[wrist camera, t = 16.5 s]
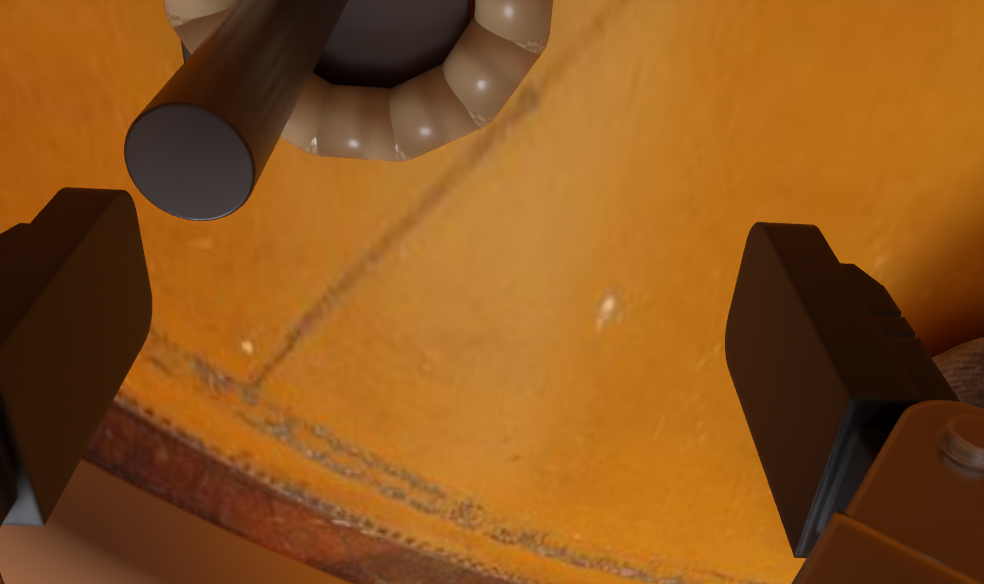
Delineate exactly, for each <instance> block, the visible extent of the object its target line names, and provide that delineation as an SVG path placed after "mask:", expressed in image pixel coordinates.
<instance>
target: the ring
mask: <svg viewBox="0 0 984 584" xmlns="http://www.w3.org/2000/svg"><path fill="white" fill-rule="evenodd" d="M238 1H239V0H164V5H165V12H166V15H167V18H168V20H169V22H170V24H171V26H172V27H173V29H174V30H175V32H176V33H177V35H178V36H179V38H180V39H181V41H182V42H183V44H184V45H185V46H186V48H187V49H188V51H189V52H190V54H191V55H192V53H193V52H194V51H195V50H196V49H197V48H198V47H199V45H200V44H201V43H202V42H203V41H204V40H205V39H206V37H207V36H208V35H209V34H210V33H211V32H212V30H213V29H214V28H215V27H216V26H217V25H218V24H219V22H220V21H221V20H222V19H223V18H224V17H225V15H226V14H227V13H228V12H229V11H230V10H231V9H232V7H233V6H234V5H235V4H236V3H237V2H238ZM552 6H553V0H475V16H474V17H473V19H472V20H471V22H470V23H469V25H468V26H467V28H466V29H465V31H464V32H463V34H462V35H461V37H460V38H459V40H458V41H457V43H456V44H455V46H454V47H453V49H452V50H451V52H450V53H449V55H448V56H447V58H446V59H445V61H444V62H443V64H441V65H439V66H437V67H435V68H433V69H431V70H428V71H426V72H424V73H422V74H420V75H418V76H416V77H414V78H412V79H410V80H408V81H406V82H403V83H401V84H399V85H397V86H395V87H393V88H380V87H365V86H351V85H337V84H331V83H330V82H328V81H326V80H325V79H323V78H321V77H320V76H318V75H316V74H315V73H313V72H312V74H311V76H310V78H309V80H308V82H307V84H306V86H305V88H304V90H303V92H302V94H301V96H300V98H299V100H298V102H297V104H296V106H295V108H294V110H293V112H292V114H291V116H290V118H289V120H288V122H287V124H286V126H285V128H284V130H283V132H282V134H281V136H280V137H281V138H282V139H284V140H286V141H288V142H289V143H291V144H293V145H294V146H296V147H298V148H300V149H301V150H303V151H305V152H307V153H309V154H312V155H316V156H324V157H339V158H353V159H368V160H383V161H408V160H411V159H414V158H416V157H418V156H421V155H423V154H425V153H427V152H429V151H432V150H434V149H436V148H438V147H440V146H443V145H445V144H447V143H449V142H451V141H454V140H456V139H458V138H460V137H462V136H465V135H467V134H469V133H471V132H473V131H476V130H478V129H480V128H482V127H484V126H486V125H487V124H489V123H490V122H491V121H492V120H493V119H494V118H495V117H496V116H497V114H498V113H499V112H500V110H501V109H502V108H503V106H504V105H505V103H506V102H507V101H508V99H509V98H510V96H511V95H512V94H513V92H514V91H515V90H516V88H517V87H518V85H519V84H520V83H521V81H522V80H523V78H524V77H525V76H526V74H527V73H528V71H529V70H530V69H531V67H532V66H533V65H534V63H535V62H536V60H537V59H538V58H539V56H540V55H541V53H542V52H543V50H544V49H545V47H546V45H547V42H548V39H549V34H550V25H551V16H552Z"/></svg>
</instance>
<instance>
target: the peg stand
mask: <svg viewBox="0 0 984 584" xmlns="http://www.w3.org/2000/svg"><path fill="white" fill-rule="evenodd" d="M470 21H471V0H239V1H238V2H237V3H236V4H235V5H234V6H233V7H232V9H231V10H230V11H229V12H228V13H227V14H226V15H225V17H224V18H223V19H222V20H221V21H220V22H219V24H218V25H217V26H216V27H215V28H214V29H213V30H212V32H211V33H210V34H209V35H208V36H207V37H206V39H205V40H204V41H203V42H202V43H201V44H200V45H199V47H198V48H197V49H196V50H195V51H194V52H193V53H192V55H191V54H190V52H189V51H188V49H187V48H186V46H185V45H184V44H183V42H182V41H181V44H182V51H183V58H184V64H183V65H182V66H181V67H180V68H179V70H178V71H177V72H176V73H175V74H174V75H173V77H172V78H171V79H170V80H169V81H168V82H167V83H166V85H165V86H164V87H163V88H162V89H161V90H160V91H159V93H158V94H157V95H156V96H155V97H154V98H153V100H152V101H151V102H150V103H149V104H148V105H147V106H146V108H145V109H144V110H143V111H142V112H141V113H140V115H139V116H138V117H137V118H136V119H135V120H134V122H133V123H132V124H131V126H130V128H129V130H128V132H127V135H126V139H125V144H124V155H125V162H126V166H127V170H128V172H129V175H130V177H131V179H132V181H133V182H134V184H135V185H136V187H137V188H138V190H139V191H140V192H141V193H142V194H143V195H144V196H145V197H146V198H147V199H148V200H149V201H150V202H151V203H153V204H154V205H155V206H157V207H158V208H160V209H161V210H163V211H165V212H167V213H169V214H171V215H174V216H177V217H180V218H183V219H188V220H195V221H208V220H215V219H219V218H223V217H225V216H228V215H230V214H232V213H233V212H235V211H237V210H238V209H239V208H240V207H242V206H243V204H244V203H245V202H246V201H247V200H248V198H249V197H250V195H251V193H252V191H253V189H254V187H255V185H256V183H257V181H258V179H259V177H260V175H261V173H262V171H263V169H264V167H265V165H266V163H267V161H268V159H269V157H270V155H271V153H272V151H273V149H274V147H275V146H276V144H277V142H278V140H279V138H280V136H281V134H282V132H283V130H284V128H285V126H286V124H287V122H288V120H289V118H290V116H291V114H292V112H293V110H294V108H295V106H296V104H297V102H298V100H299V98H300V96H301V94H302V92H303V90H304V88H305V86H306V84H307V82H308V80H309V78H310V76H311V74H312V72H313V73H315V74H316V75H318V76H320V77H321V78H323V79H325V80H326V81H328V82H330V83H331V84H337V85H351V86H365V87H380V88H393V87H395V86H397V85H399V84H401V83H403V82H406V81H408V80H410V79H412V78H414V77H416V76H418V75H420V74H422V73H424V72H426V71H428V70H431V69H433V68H435V67H437V66H439V65H441V64H443V62H444V61H445V59H446V58H447V56H448V55H449V53H450V52H451V50H452V49H453V47H454V46H455V44H456V43H457V41H458V40H459V38H460V37H461V35H462V34H463V32H464V31H465V29H466V28H467V26H468V25H469V23H470Z"/></svg>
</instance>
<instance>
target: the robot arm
mask: <svg viewBox="0 0 984 584" xmlns="http://www.w3.org/2000/svg"><path fill="white" fill-rule="evenodd" d="M151 318H152V293H151V287H150V282H149V277H148V271H147V266H146V261H145V255H144V250H143V245H142V239H141V234H140V229H139V223H138V218H137V213H136V208H135V204H134V201H133V199H132V197H131V195H130V194H129V193H128V192H127V191H125V190H112V189H91V188H70V187H66V188H62V189H61V190H60V191H58V192H57V194H56V195H55V196H54V197H53V198H52V199H51V200H50V201H49V203H48V204H47V205H46V206H45V207H44V208H43V209H42V211H41V212H40V213H39V214H38V215H37V216H36V217H35V218H34V220H33V221H32V222H31V223H30V224H28V223H19V224H18V225H16V226H14V227H12V228H10V229H8V230H7V231H5V232H3V233H1V234H0V527H1V525H23V526H45V524H46V522H47V520H48V518H49V516H50V515H51V513H52V511H53V509H54V507H55V506H56V504H57V502H58V500H59V498H60V496H61V495H62V493H63V491H64V489H65V487H66V485H67V483H68V482H69V480H70V478H71V476H72V474H73V472H74V471H75V469H76V467H77V465H78V463H79V462H80V460H81V458H82V456H83V454H84V452H85V451H86V449H87V447H88V445H89V443H90V441H91V440H92V438H93V436H94V434H95V432H96V430H97V429H98V427H99V425H100V423H101V421H102V419H103V418H104V416H105V414H106V412H107V410H108V408H109V407H110V405H111V403H112V401H113V399H114V397H115V396H116V394H117V392H118V390H119V388H120V386H121V385H122V383H123V381H124V379H125V377H126V375H127V374H128V372H129V370H130V368H131V366H132V364H133V363H134V361H135V359H136V357H137V355H138V353H139V352H140V350H141V348H142V346H143V344H144V342H145V340H146V338H147V336H148V333H149V329H150V325H151ZM725 353H726V361H727V365H728V369H729V372H730V375H731V377H732V380H733V383H734V386H735V389H736V392H737V395H738V397H739V400H740V403H741V406H742V409H743V412H744V415H745V417H746V420H747V423H748V426H749V429H750V432H751V435H752V437H753V440H754V443H755V446H756V449H757V452H758V455H759V457H760V460H761V463H762V466H763V469H764V472H765V475H766V477H767V480H768V483H769V486H770V489H771V492H772V495H773V497H774V500H775V503H776V506H777V509H778V512H779V515H780V517H781V520H782V523H783V526H784V529H785V532H786V535H787V537H788V540H789V543H790V546H791V549H792V552H793V555H794V557H795V558H807V559H806V560H805V562H804V564H803V565H802V567H801V569H800V570H799V572H798V574H797V575H796V577H795V579H794V580H793V582H792V584H984V409H983V408H980V407H977V406H974V405H970V404H966V403H962V402H960V400H959V399H958V397H957V396H956V394H955V393H954V391H953V390H952V388H951V387H950V385H949V384H948V382H947V381H946V379H945V378H944V376H943V374H942V373H941V371H940V370H939V368H938V367H937V365H936V364H935V362H934V361H933V359H932V358H931V356H930V355H929V353H928V352H927V350H926V349H925V347H924V346H923V344H922V343H921V341H920V340H919V339H917V338H915V332H914V331H913V329H912V328H911V326H910V325H909V323H908V322H907V320H906V319H905V317H901V311H900V310H899V308H898V307H897V305H896V304H895V302H894V301H893V299H892V298H891V296H890V295H889V293H888V292H887V290H886V289H885V287H884V286H883V285H881V284H880V283H878V282H877V281H876V280H874V279H873V278H872V277H870V276H869V275H868V274H866V273H865V272H864V271H862V270H861V269H860V268H858V267H857V266H856V265H854V264H843V263H839V261H838V259H837V258H836V256H835V254H834V253H833V251H832V249H831V248H830V246H829V245H828V243H827V241H826V240H825V238H824V236H823V235H822V233H821V232H820V230H819V229H818V227H817V226H815V225H807V224H787V223H766V222H757V223H755V224H754V225H753V226H752V228H751V230H750V232H749V234H748V237H747V241H746V245H745V249H744V253H743V257H742V261H741V266H740V270H739V274H738V278H737V282H736V286H735V290H734V294H733V299H732V303H731V307H730V311H729V315H728V319H727V325H726V333H725ZM0 584H4V582H3V579H2V576H1V573H0Z"/></svg>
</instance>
